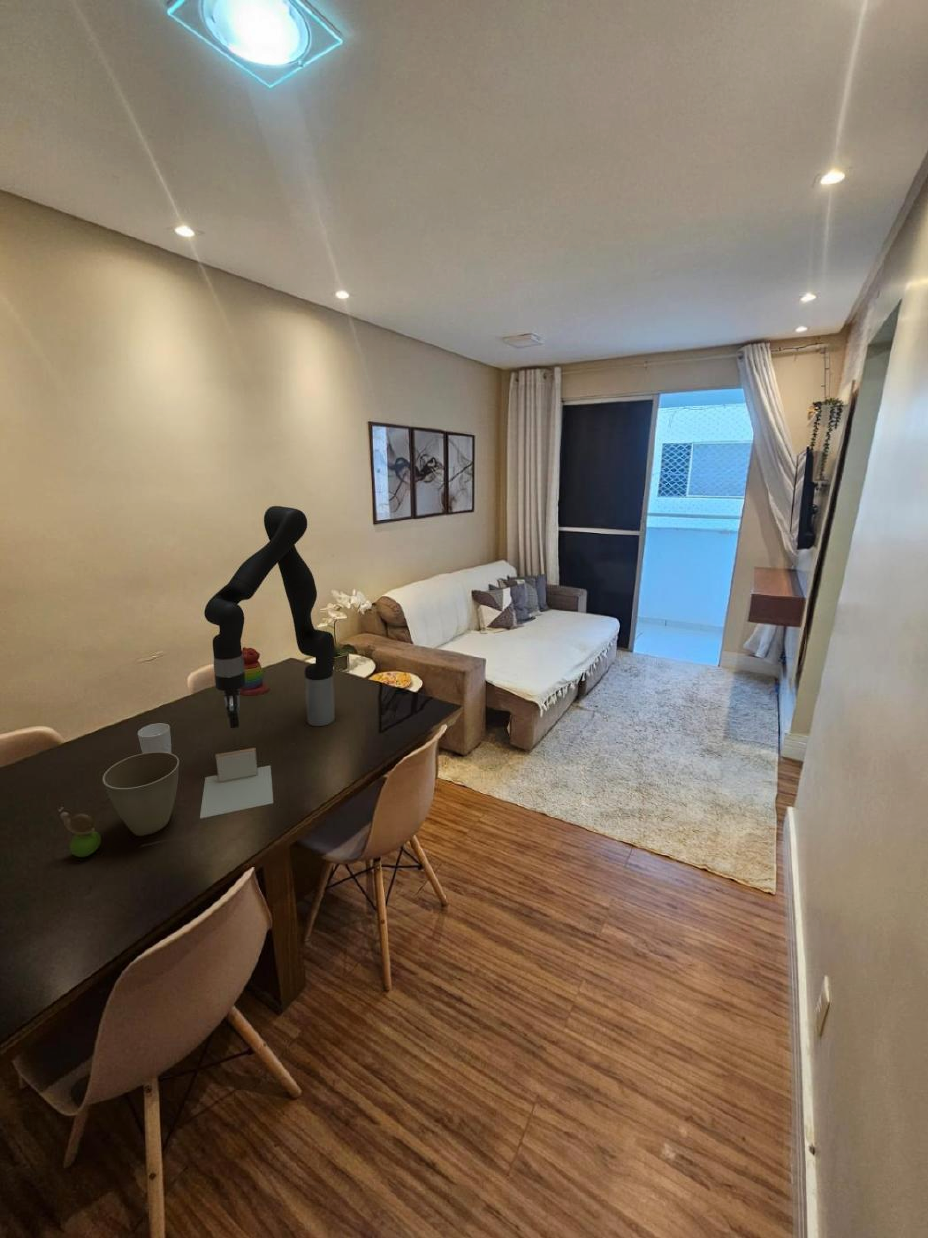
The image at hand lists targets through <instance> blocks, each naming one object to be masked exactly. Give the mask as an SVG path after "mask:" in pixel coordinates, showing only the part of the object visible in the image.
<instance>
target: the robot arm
mask: <svg viewBox="0 0 928 1238" xmlns="http://www.w3.org/2000/svg"><path fill="white" fill-rule="evenodd" d="M306 516H307V515H306V514H305V513H304V512H303V511H302V510H300V509H297V508H294V507H287V506H281V505H273V506H270V507H268V508H267V509H266V510H265V513H264V516H263V525H264V529H265V531H266V535H267V537H268V539H269V540H268V542H267V543H266V544H265V545H264V546H263V547H261V549H259V550H258V551H256V552H255V553H253V554H252V555H251V556H249V557H248V558H247V559H246V560H245V561H243V562H242V564H241V565H240V566H239V567H238V569H237V570H236V572H235V573H234V574H233V576H232V577H231V578H230V580H229V581H228V582H227V584H226V585H224V586H223V587H222V588H221V589H220V590H218V591H217V592H216V593H215V594H214V595H213V596H212V597H211V598H210V599H209V600H208V602H207V603H206V605H205V606H204V607H205V608H204V610H203V611H204V612H203V615H204V617H205V619H206V621H207V622H209V623H210V624H212V625H215V626H218V628H219V632H218V634H217V635H214V636H213V638H212V652H213V654H212V655H213V672H214V683H215V684H214V685H215V688H216V690H218V691H220V692H223V701H224V704H225V710H226V713H227V717H228V719H229V726H230V728H231V729H237V728H239V726H240V722H239V720H240V719H239V714H240V713H239V712H240V695H241V694H240V691H239V689H240V688H242V687H243V686H244V685H245V671H244V661H243V657H242V649H243V648H242V636H243V631H244V624H245V615H244V611H243V609H242V607H241V606H240V605H239V604H240V602H242V601H247V600H250V599H252V598H253V596H254V595H255V594H256V592H257V591H258V590H259V588H260V586H261V585H262V583H263V582H264V580H265V579H266V577H267V576H268V575H269V574H270V572H271V571H272V570H273V569H274V567H275V566H278V568H279V572H280V576H281V579H282V584H283V587H284V588H283V589H284V592H285V594H286V595H285V596H286V598H287V600H288V604H289V609H290V612H291V617H292V621H293V627H294V634H295V638H296V645H297V648H298V650H299V652H300V654H302V655H304V656H308V657H311V658H312V657H313V658H315V662H314V663H311V664H309V665H307V666H306V667H305V668H304V680H305V681H304V684H305V685H304V686H305V699H306V719H307V720H306V721H307V723H308V724H309V725H310V726H314V727H324V726H328V725H330V724H332V723H333V722H334V721H335V720H334V719H335V693H334V668H335V646H336V644H335V643H336V642H335V637H334V635H333V633H331V632H330V631H326V630H321V629H316V628H315V627H314V625H313V622H312V611H313V609H314V606H315V604H316V601H317V598H318V590H317V586H316V583H315V578H314V575H313V573H312V570H311V569H310V568H309V566H308V565H307V563H306V562H305V560H304V559H303V558H302V555H301V554H300V553H299V551H298V549H297V548H296V544H297V543H298V542H299V540H301V538H302V537H303V536H304V535H305V533H306V532H307V528H308V519H307V517H306Z"/></svg>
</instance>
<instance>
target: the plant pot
mask: <svg viewBox="0 0 928 1238" xmlns="http://www.w3.org/2000/svg"><path fill="white" fill-rule="evenodd" d="M179 768H180V759H179V758H178V756H177V755H176V754H173V753H172V752H171V753H167V752H148V753H140V754H139V753H138V754H136V755H132V756H130V757H129V756H128V757H127V758H125V759H122V760H120V761H118V762H117V763H115V764H114V765H112V766H111V767H109V768H108V769H107V770H106V771H105V772H104V774H103V776H102V783H103V785H104V788H105V790H106V793H107V795H108V797H109V799H110V801H111V803H112V805H113V807H114V810H116V812H117V814H118V815H119V817H120V819H121V820H122V821H123V823H124V824H125V825H126V827H127V828H128V829H129V830H130V832H132V833H133V834H134V835H135V836H138V837H144V836H146V835H151V834H154V833H156V832H159V831H160V830H161V829H163V828H164V827H166V826H167V824H168V823H169V821H170V818H171V815H172V812H173V807H174V804H175V800H176V795H177V790H178V782H179Z"/></svg>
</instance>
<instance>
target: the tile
mask: <svg viewBox="0 0 928 1238" xmlns="http://www.w3.org/2000/svg"><path fill="white" fill-rule="evenodd" d="M257 761H258V760H257V748H256V747H252V748H247V749H246V748H245V749H240V750H234V751H227V752H221V753H216V754H215V762H216V763H215V764H216V771H217V772H216V773H217V775H218V781H219V782H223V781H228V780H233V779H239V778H244V777H249V776H255V775H258V769H257V768H258V762H257Z"/></svg>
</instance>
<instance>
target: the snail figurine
mask: <svg viewBox="0 0 928 1238" xmlns="http://www.w3.org/2000/svg"><path fill="white" fill-rule="evenodd" d="M63 810H64V807H63V806H61V807H60V809H58V813H59V814H60V818H61V819H62V822H63V824H64V826H65V827H66V828H67V831H70V833H73V834H75V836H74V837H73V838H72V839H71V840H70V843H69V851H70V852H71V854H72V855H73V856H76V857H80V858H83V857H84V858H85V857H89V856H90V855H92V854H94V853H95V852H96V851H97V850H98V848H99V847H100V845H101V841H102V839H101V835H100V834H99V832H98V831H96V830H95V829H96V828H93V827H94V820H93V818H92V816H90V815H88V814H85V813H77V814H75V815H74V816H72V817H71V819H70V817H69V812H66V811H63Z"/></svg>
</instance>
